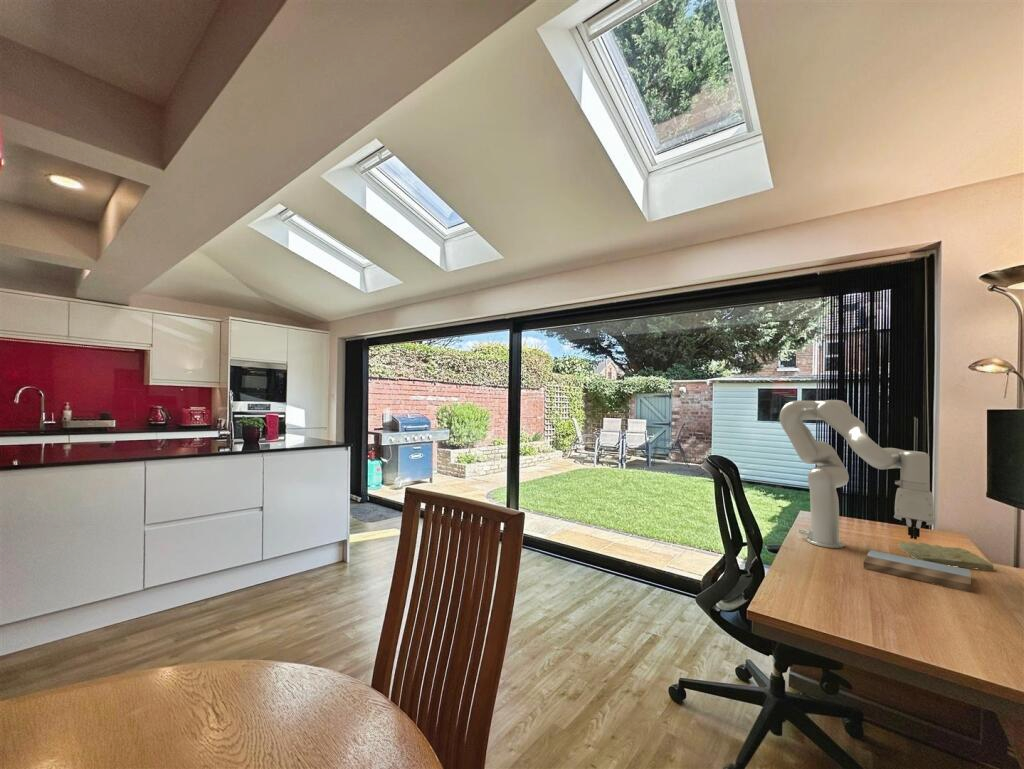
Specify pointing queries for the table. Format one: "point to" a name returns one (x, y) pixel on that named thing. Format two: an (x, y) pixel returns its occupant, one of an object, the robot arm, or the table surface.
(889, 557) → the grey-blue plank
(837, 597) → the table surface
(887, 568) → the walnut plank
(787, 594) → the table surface
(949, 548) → the decorative tile
